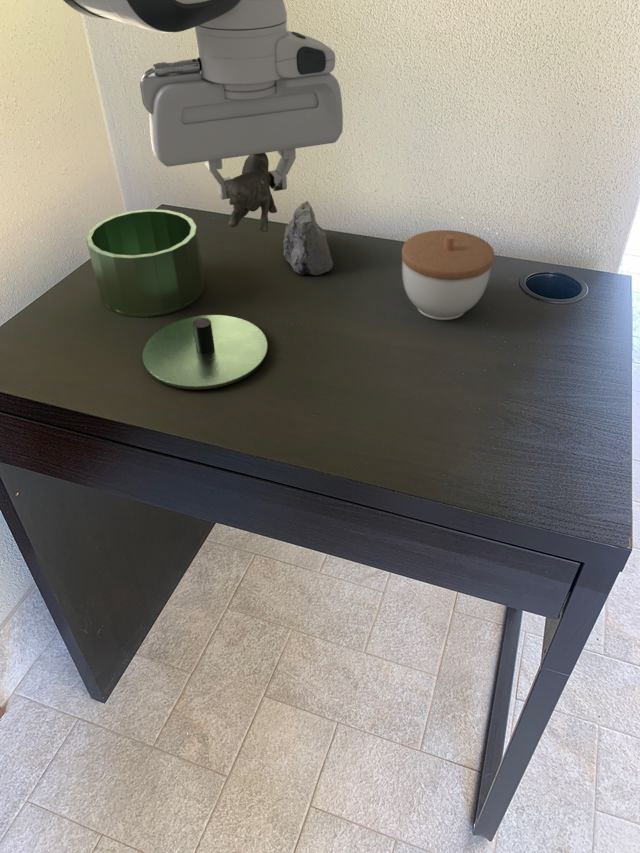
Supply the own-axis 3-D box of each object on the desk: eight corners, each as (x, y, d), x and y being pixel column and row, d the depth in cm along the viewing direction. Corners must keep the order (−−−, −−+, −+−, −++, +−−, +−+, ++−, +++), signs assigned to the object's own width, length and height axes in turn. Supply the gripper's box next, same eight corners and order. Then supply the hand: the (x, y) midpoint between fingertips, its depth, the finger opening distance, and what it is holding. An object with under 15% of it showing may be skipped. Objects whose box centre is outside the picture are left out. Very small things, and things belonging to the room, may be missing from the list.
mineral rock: (295, 236, 118) (292, 178, 112) (353, 245, 115) (355, 187, 109) (263, 270, 109) (259, 209, 103) (326, 281, 106) (326, 220, 100)
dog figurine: (231, 197, 81) (227, 132, 77) (280, 199, 81) (278, 134, 77) (216, 241, 72) (210, 171, 68) (270, 243, 72) (268, 173, 67)
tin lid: (158, 406, 84) (151, 373, 80) (133, 336, 95) (125, 305, 92) (285, 374, 88) (283, 341, 85) (246, 311, 100) (243, 280, 97)
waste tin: (110, 327, 97) (95, 266, 91) (94, 276, 108) (79, 219, 102) (216, 304, 102) (208, 244, 95) (190, 257, 113) (181, 202, 106)
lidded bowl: (382, 313, 99) (386, 243, 92) (423, 277, 107) (429, 209, 100) (462, 340, 94) (472, 267, 86) (498, 300, 101) (511, 230, 94)
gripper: (142, 73, 62) (166, 219, 71) (350, 51, 67) (347, 189, 76) (130, 57, 66) (154, 196, 75) (326, 38, 72) (326, 169, 81)
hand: (253, 192), depth 76 cm, fingers closed on dog figurine, 4 cm apart
